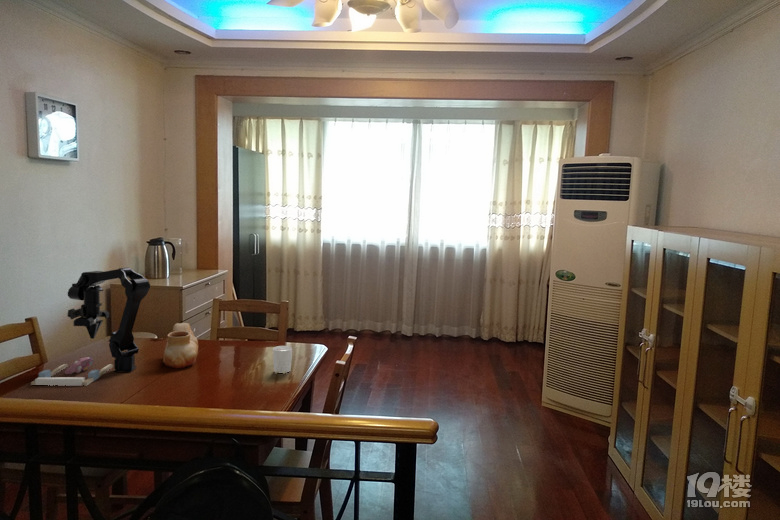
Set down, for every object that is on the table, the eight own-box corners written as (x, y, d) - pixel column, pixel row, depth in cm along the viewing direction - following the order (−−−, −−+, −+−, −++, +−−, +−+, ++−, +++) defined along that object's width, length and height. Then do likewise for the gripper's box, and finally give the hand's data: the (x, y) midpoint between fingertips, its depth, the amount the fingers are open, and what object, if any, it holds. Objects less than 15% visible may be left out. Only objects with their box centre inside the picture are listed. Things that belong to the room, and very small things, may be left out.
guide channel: (113, 367, 209) (113, 360, 209) (87, 385, 187) (87, 377, 187) (62, 367, 207) (62, 359, 207) (30, 385, 185) (29, 377, 185)
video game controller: (72, 379, 198) (78, 364, 196) (62, 373, 198) (69, 358, 197) (91, 372, 207) (97, 357, 206) (82, 366, 208) (89, 351, 207)
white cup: (295, 370, 213) (295, 347, 212) (284, 375, 206) (284, 351, 205) (280, 367, 216) (280, 344, 215) (268, 372, 209) (268, 349, 208)
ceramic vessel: (199, 351, 237) (199, 319, 235) (197, 368, 212) (197, 333, 211) (167, 353, 232) (167, 321, 231) (161, 370, 207) (160, 334, 206)
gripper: (82, 297, 218) (83, 333, 220) (58, 305, 200) (59, 344, 201) (109, 297, 219) (110, 333, 221) (88, 305, 201) (89, 344, 202)
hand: (92, 338), depth 211 cm, fingers closed
